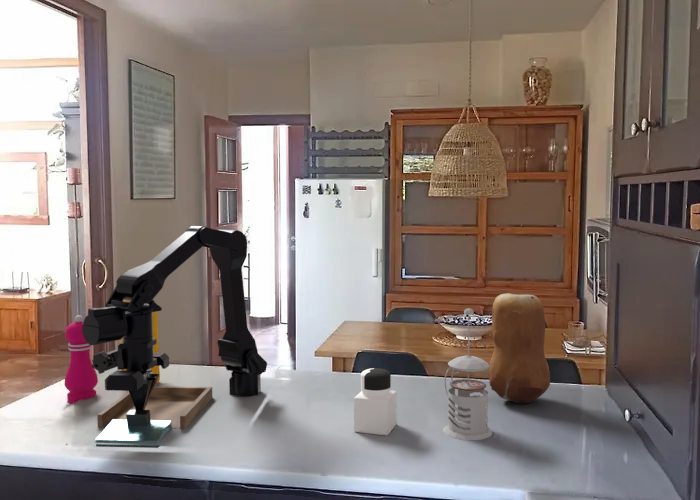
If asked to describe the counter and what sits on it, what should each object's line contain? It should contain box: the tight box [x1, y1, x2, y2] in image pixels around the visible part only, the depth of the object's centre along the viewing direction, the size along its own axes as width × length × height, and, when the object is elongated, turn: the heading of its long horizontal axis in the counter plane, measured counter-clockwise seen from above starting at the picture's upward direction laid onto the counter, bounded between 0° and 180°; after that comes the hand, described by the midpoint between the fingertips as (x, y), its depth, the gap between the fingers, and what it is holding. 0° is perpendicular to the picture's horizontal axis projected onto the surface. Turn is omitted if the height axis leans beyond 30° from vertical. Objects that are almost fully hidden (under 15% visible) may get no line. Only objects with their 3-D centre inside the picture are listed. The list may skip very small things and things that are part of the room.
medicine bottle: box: [353, 367, 398, 436], centre depth 135 cm, size 7×7×12 cm
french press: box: [443, 308, 493, 441], centre depth 133 cm, size 10×12×25 cm
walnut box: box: [96, 385, 214, 430], centre depth 143 cm, size 18×20×4 cm
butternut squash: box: [488, 292, 551, 405], centre depth 151 cm, size 14×13×25 cm
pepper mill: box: [64, 314, 99, 405], centre depth 154 cm, size 7×7×20 cm
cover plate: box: [95, 410, 173, 449], centre depth 129 cm, size 12×8×4 cm, turn 86°
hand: (140, 412), depth 133 cm, fingers closed
